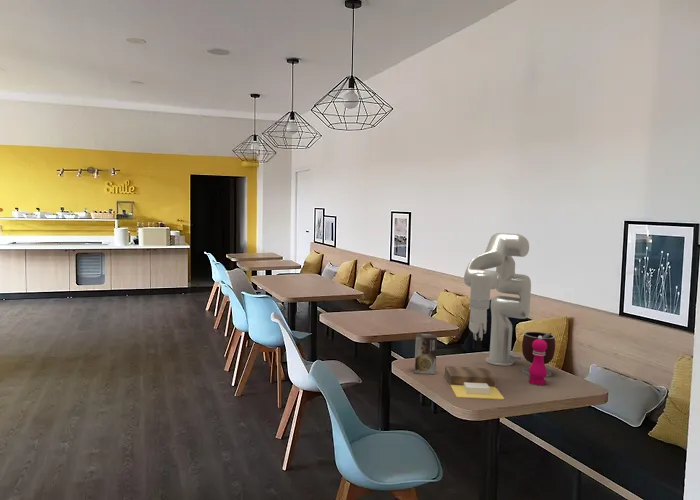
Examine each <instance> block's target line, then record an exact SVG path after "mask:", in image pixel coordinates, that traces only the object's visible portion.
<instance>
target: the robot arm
mask: <svg viewBox="0 0 700 500" xmlns="http://www.w3.org/2000/svg"><path fill="white" fill-rule="evenodd" d="M487 243H488V244H487V246H486V248H485V252H483V253H481V254H479V255H478V256H475V257H474V258H473V259H471V260H470V261H469V263H468V265H467V266H466V269H465V271H464V277H463V281H464V285H466V286H467V287H469V288H470V293H469V294H470V295H469V296H470V297H469V308H470V313H469V323H468V328H469V330H470V332H472V333H473V334H472V335H473V337H472V349H473V350H474V351H482V350H483V349H482V348H483V335H485V334H486V333H487V323H488V319H487V318H488V309H490V312H491V325H490V327H491V328H490V344H489V356H487V357H486V358H485V362H486V363H488V364H490V365H495V366H501V367H507V366H508V367H509V366H513V365H514V361H515V360H516V361H521V360H522V356H521V355H517V354H513V353H512V352H511V351H512V341H513V340H512V337H513V325H512V322H511V321H510V319H509V318H514V319H519V320H520V319H521V320H522V319H524V320H525V319H527V318H528V317H529V315H530V309H531V294H532V293H531V292H532V281H531V278H530V277H529V276H528V275H526V274H522V273H521V274H520V273H516V261H515V259H514V258H513V257H518V258H519V257H520V258H524V257H526V256H527V255H528V254H529V250H530V243H529V240H528V239H527V238H526V237H525V236H524V235H522V234H519V233H507V232H506V233H505V232H496V233H495V234H493V235H492V236H491V237H490V239H489V241H488V242H487ZM494 268H495V270H490V269H494ZM491 290H495V291H497V292H499V293H501V294H507V295H516V296H518V297H516V296H515V297H514V296H507V295H495V296H494V297H492V298H491Z"/></svg>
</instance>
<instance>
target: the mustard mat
mask: <svg viewBox="0 0 700 500" xmlns="http://www.w3.org/2000/svg"><path fill="white" fill-rule="evenodd" d="M449 387H450V389H452V392H453V393H454V395H455V397H456V398H457V399H458V398H459V399H475V400H476V399H479V400H480V399H481V400H501V401H502V400H506V399H505V397H504V395H502V393H501V392H500V391H499V389H498V388H497V387H496V386H495V387H491V386H489V387H490V395H485V394H466V392H465V390H464V389H463V388H464V385H450V384H449Z"/></svg>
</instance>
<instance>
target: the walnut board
mask: <svg viewBox="0 0 700 500" xmlns="http://www.w3.org/2000/svg"><path fill="white" fill-rule="evenodd" d="M444 377H445V379H446V380H447V382H448V384H449V386H450V385H464V382H467V383H487V385H488V386H491V387H496V376H494V374H493V373H492V372H491V371H490V370H489V368H487V367H477V366H476V367H475V366H472V367H471V366H452V365H445V366H444Z"/></svg>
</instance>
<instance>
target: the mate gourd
mask: <svg viewBox="0 0 700 500" xmlns="http://www.w3.org/2000/svg"><path fill="white" fill-rule="evenodd" d="M538 336H542V340H544V341H545V342H546V343H547V349H546V350H545V352H546V353H545V355H544V365H547V364H549V363H550V362H551V361H552V360H553V359H554V357H555V354H556V353H555V352H556V337H555V335H553V334H552V332H548V333H547V332H540V331H526V332H524V334H523V337H522V342H521V343H522V344H521V350H522V355H523V357H524V359H525V360H526V361H527V362H529V363H531V364H532V363H533V360H534V354H533V350H534V349H533V347H532V343H533V341H534V340H536V339H538ZM529 368H530V366H529V367H523V368H522V369H521V370H522V373H524V374H526V375H528V376H530V374H529ZM546 370H547V375H546V377H545V378H548V377H551V376H552V372H551V371H550V370H548V369H546Z"/></svg>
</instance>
